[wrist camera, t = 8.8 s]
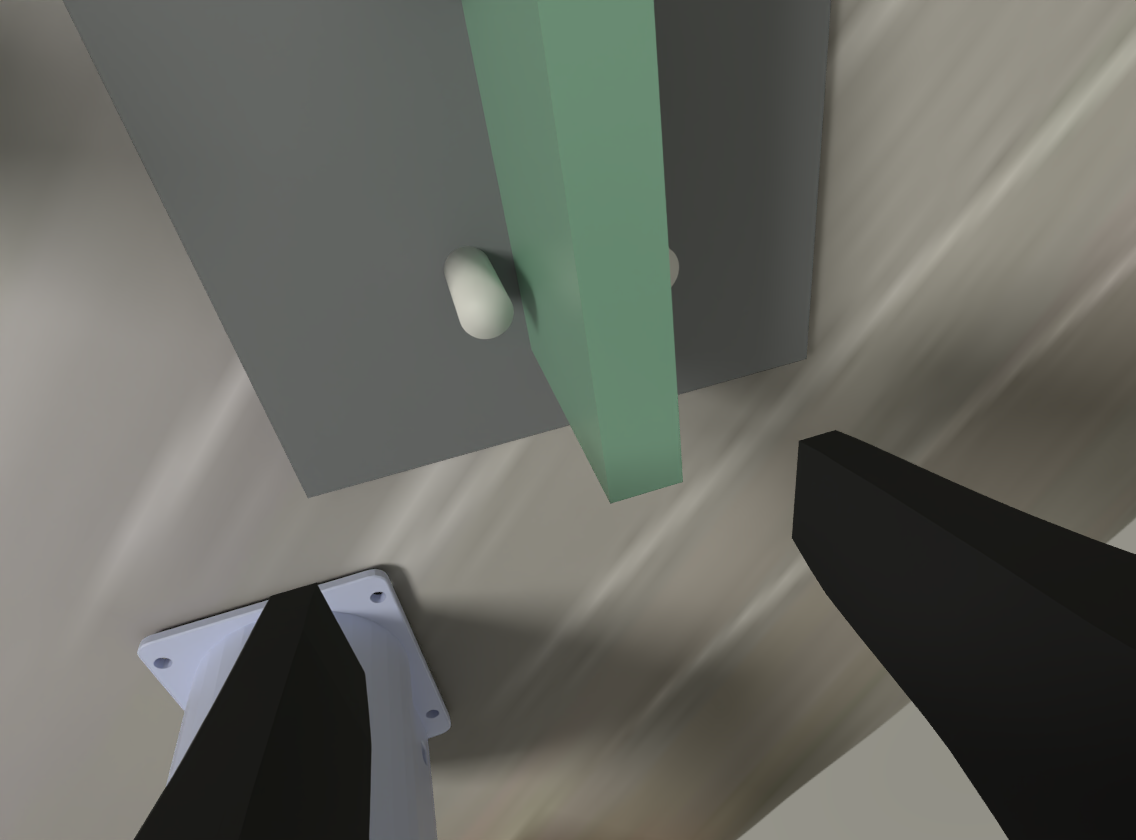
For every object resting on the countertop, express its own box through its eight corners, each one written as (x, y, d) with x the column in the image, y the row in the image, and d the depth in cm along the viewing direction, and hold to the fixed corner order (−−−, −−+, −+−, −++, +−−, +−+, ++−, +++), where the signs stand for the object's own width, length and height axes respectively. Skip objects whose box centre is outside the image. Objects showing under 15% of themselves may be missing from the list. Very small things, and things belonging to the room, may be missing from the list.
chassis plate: (789, 346, 22) (865, 404, 19) (309, 477, 20) (299, 570, 16) (834, -527, 12) (1017, -736, 8) (-140, -461, 10) (-402, -712, 6)
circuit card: (582, 336, 18) (683, 481, 13) (531, 349, 18) (610, 503, 12) (493, -254, 12) (623, -512, 6) (412, -243, 11) (463, -504, 6)
